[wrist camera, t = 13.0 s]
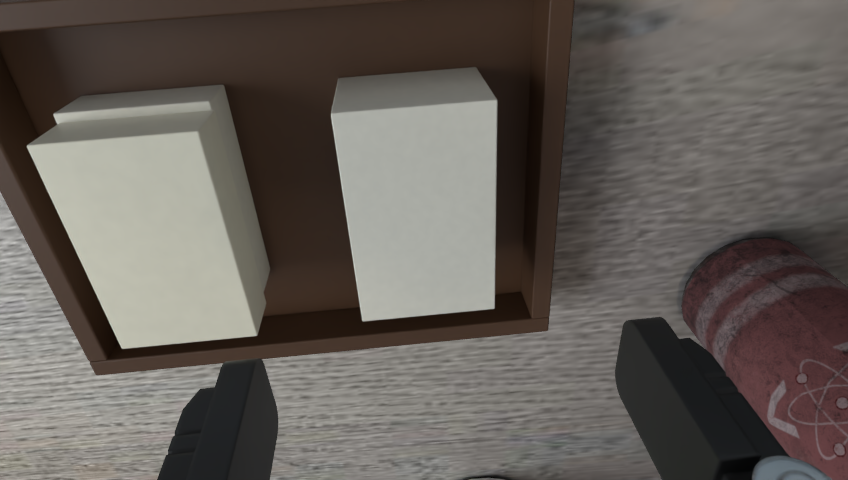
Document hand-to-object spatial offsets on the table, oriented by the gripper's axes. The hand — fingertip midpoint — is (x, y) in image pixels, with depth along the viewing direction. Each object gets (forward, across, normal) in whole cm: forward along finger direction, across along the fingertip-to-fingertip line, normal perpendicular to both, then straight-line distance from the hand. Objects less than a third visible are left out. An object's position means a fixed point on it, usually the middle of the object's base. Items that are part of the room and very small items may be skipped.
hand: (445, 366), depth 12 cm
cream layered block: (+11, +9, 0) cm, 14 cm away
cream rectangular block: (+11, 0, 0) cm, 11 cm away
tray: (+12, +4, 0) cm, 12 cm away
